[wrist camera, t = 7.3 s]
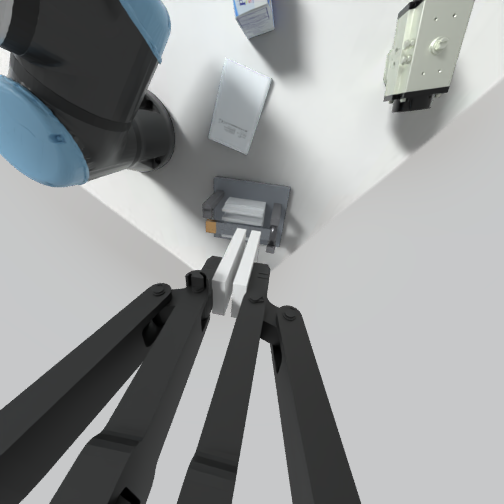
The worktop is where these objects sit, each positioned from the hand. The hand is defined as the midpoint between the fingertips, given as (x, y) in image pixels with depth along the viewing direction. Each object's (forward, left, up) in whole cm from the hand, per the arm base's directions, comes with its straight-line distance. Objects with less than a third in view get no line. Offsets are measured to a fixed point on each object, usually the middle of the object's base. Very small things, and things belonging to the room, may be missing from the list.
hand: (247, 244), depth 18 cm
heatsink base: (-4, -10, -30) cm, 32 cm away
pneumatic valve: (+16, +17, -31) cm, 39 cm away
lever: (-4, -10, -22) cm, 24 cm away
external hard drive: (-8, +9, -31) cm, 33 cm away
